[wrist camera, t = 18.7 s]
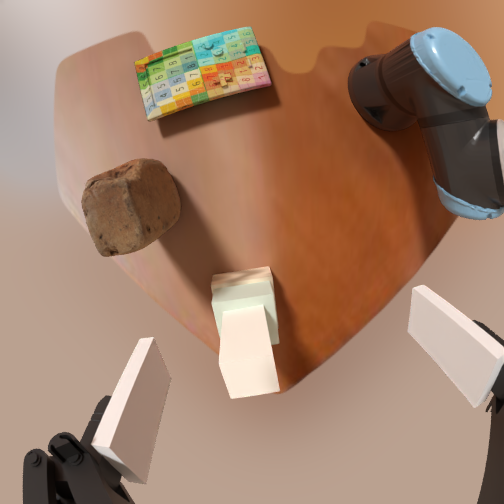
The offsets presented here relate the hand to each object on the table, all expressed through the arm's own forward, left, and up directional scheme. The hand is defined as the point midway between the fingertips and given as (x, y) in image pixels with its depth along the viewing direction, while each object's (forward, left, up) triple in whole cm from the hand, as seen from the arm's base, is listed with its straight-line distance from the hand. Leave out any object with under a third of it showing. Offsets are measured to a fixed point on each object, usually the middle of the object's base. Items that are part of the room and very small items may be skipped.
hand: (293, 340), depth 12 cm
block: (+15, -7, -35) cm, 39 cm away
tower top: (+4, +14, -30) cm, 33 cm away
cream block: (+4, +14, -25) cm, 29 cm away
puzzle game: (+4, -26, -35) cm, 44 cm away
